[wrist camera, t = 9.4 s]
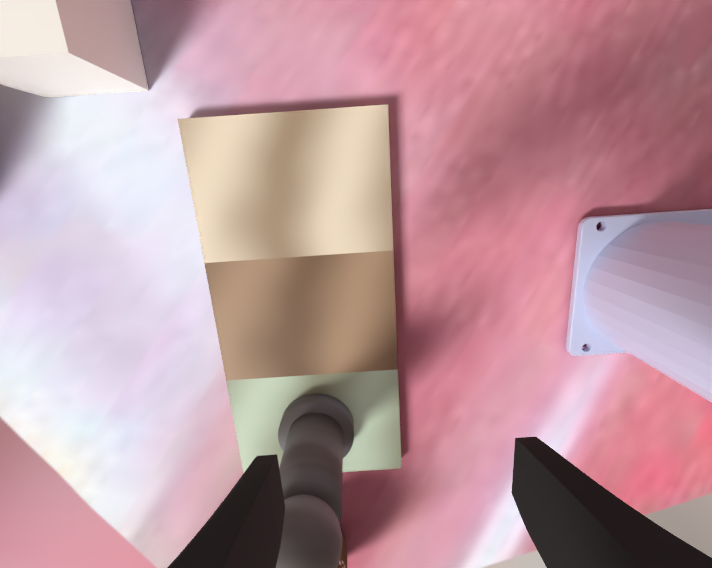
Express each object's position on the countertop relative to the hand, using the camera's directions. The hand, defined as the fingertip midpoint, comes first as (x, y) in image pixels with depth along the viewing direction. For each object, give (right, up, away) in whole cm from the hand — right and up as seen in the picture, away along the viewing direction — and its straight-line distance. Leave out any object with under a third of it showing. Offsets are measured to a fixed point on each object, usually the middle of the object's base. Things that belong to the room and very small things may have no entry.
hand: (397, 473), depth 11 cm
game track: (-4, +4, +10) cm, 11 cm away
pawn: (-4, -3, +11) cm, 12 cm away
